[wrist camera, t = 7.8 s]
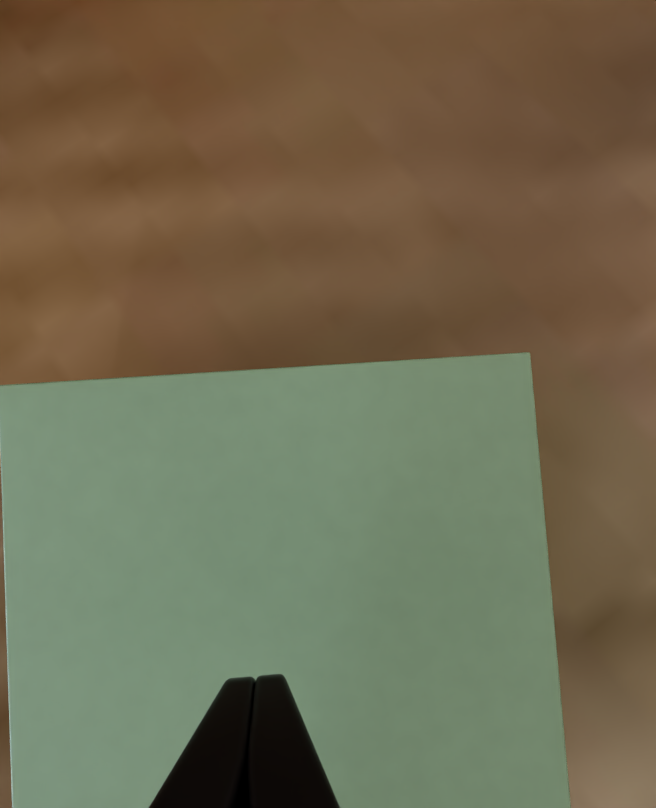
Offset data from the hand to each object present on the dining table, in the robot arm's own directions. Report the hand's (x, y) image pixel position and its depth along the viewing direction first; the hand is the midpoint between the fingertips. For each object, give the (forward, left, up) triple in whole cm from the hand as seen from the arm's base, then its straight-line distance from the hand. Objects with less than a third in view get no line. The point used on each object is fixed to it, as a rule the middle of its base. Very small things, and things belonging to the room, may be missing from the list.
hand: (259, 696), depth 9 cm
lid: (-1, 0, -7) cm, 7 cm away
